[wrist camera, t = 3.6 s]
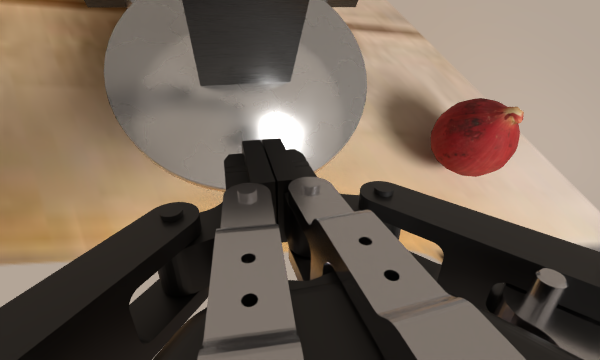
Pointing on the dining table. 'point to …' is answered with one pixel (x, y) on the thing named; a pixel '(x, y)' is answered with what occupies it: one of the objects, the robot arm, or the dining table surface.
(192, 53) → the lid
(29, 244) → the dining table surface
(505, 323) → the robot arm
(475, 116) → the onion
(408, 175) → the dining table surface
